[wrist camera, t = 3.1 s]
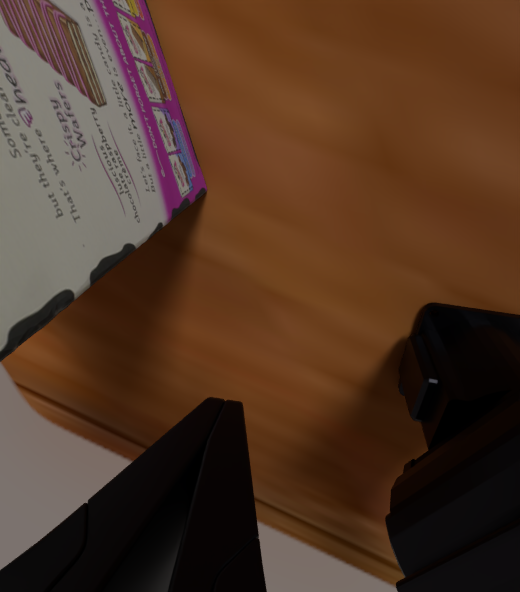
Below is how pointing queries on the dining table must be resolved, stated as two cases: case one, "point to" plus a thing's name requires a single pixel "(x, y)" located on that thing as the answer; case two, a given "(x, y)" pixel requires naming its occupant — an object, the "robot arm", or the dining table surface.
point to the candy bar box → (82, 151)
